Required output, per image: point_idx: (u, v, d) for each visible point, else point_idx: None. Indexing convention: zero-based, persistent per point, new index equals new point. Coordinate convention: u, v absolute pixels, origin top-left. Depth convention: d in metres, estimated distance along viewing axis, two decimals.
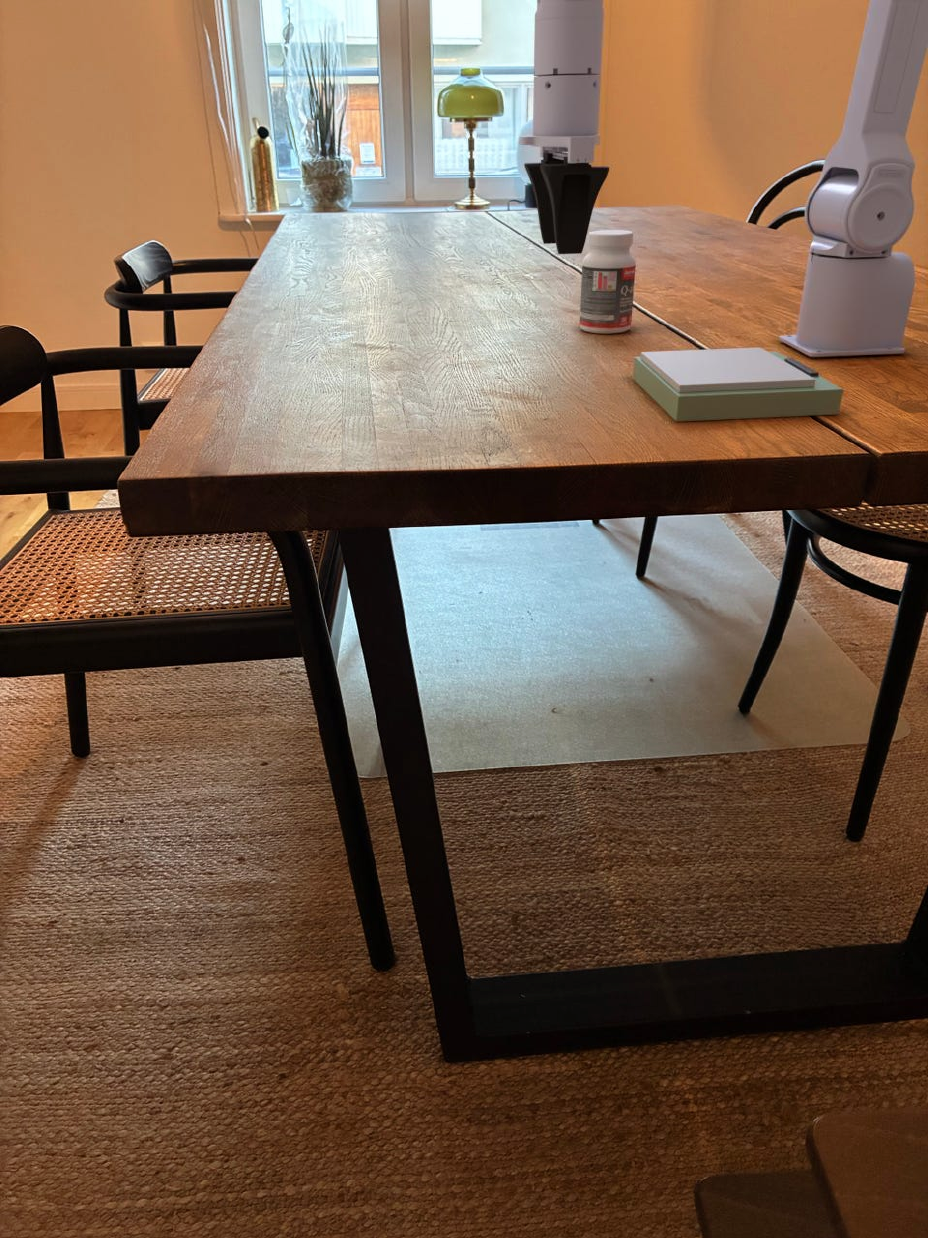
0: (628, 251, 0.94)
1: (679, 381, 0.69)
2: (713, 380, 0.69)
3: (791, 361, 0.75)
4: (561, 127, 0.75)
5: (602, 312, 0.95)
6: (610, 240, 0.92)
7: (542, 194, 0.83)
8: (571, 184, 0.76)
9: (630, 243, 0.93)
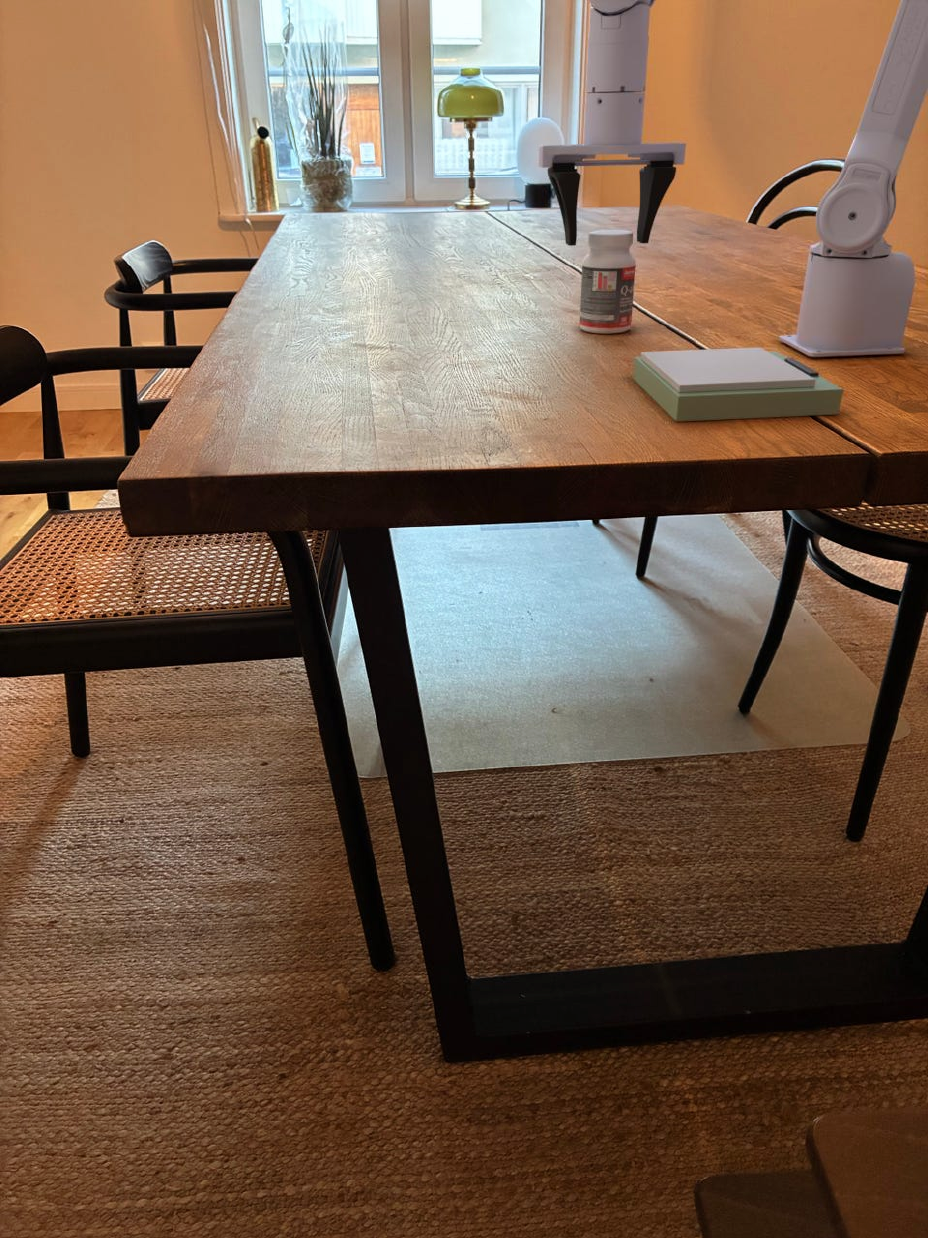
0: (628, 251, 0.94)
1: (679, 381, 0.69)
2: (713, 380, 0.69)
3: (791, 361, 0.75)
4: None
5: (602, 312, 0.95)
6: (610, 240, 0.92)
7: (641, 196, 0.93)
8: None
9: (630, 243, 0.93)
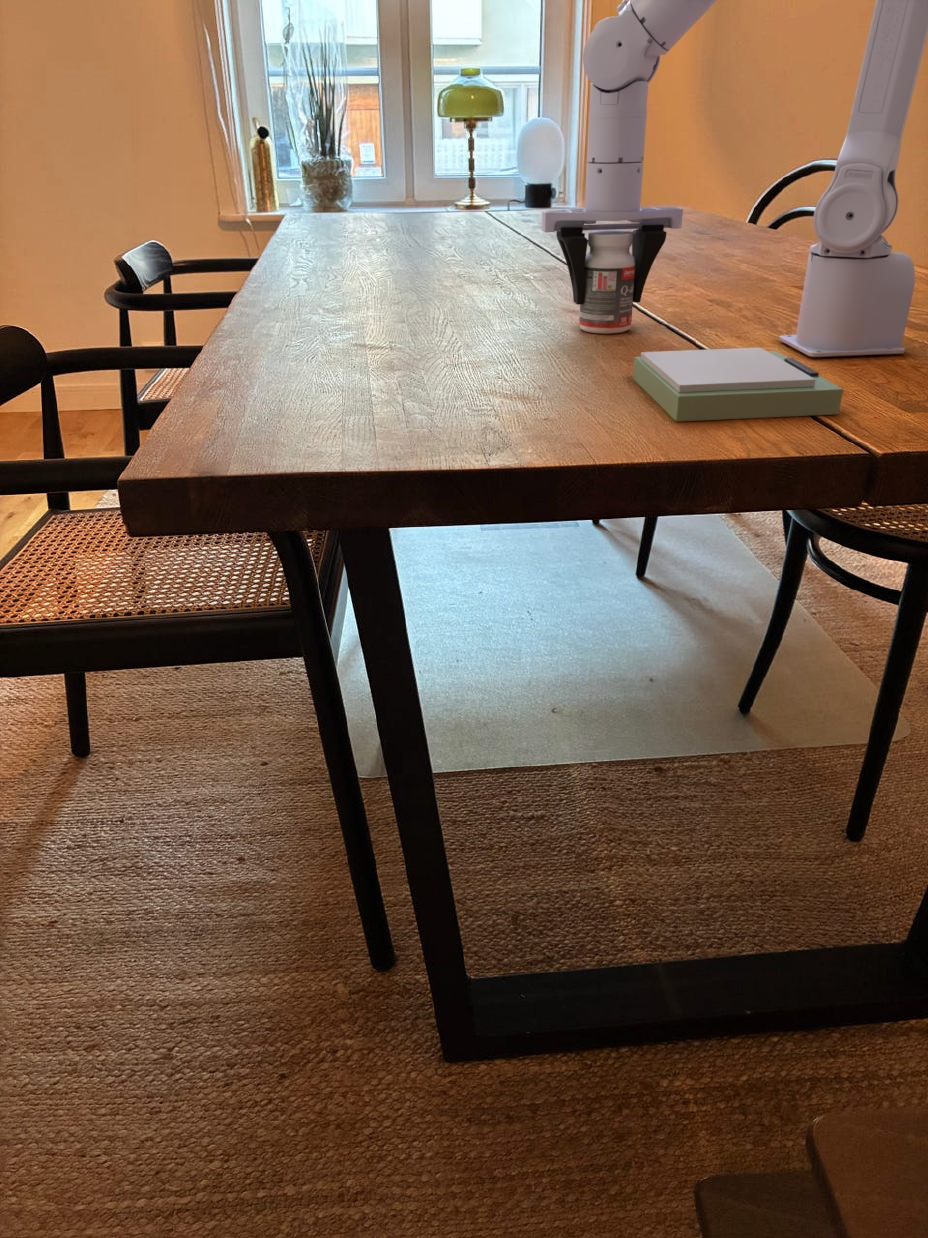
0: (628, 251, 0.94)
1: (679, 381, 0.69)
2: (713, 380, 0.69)
3: (791, 361, 0.75)
4: None
5: (602, 312, 0.95)
6: (610, 240, 0.92)
7: None
8: None
9: (630, 243, 0.93)
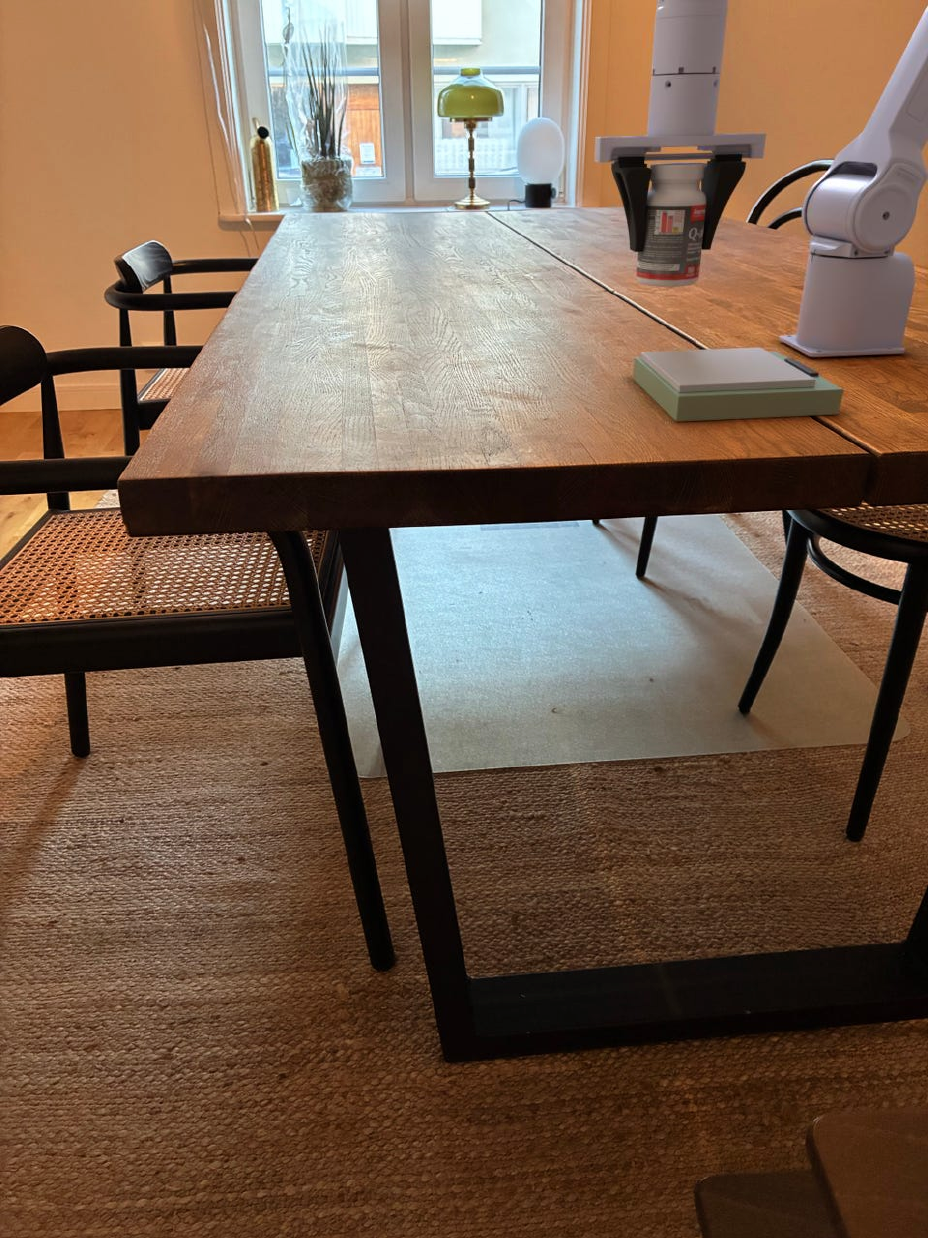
0: (698, 186, 0.78)
1: (679, 381, 0.69)
2: (713, 380, 0.69)
3: (791, 361, 0.75)
4: None
5: (665, 260, 0.79)
6: (678, 171, 0.76)
7: None
8: None
9: (701, 176, 0.77)
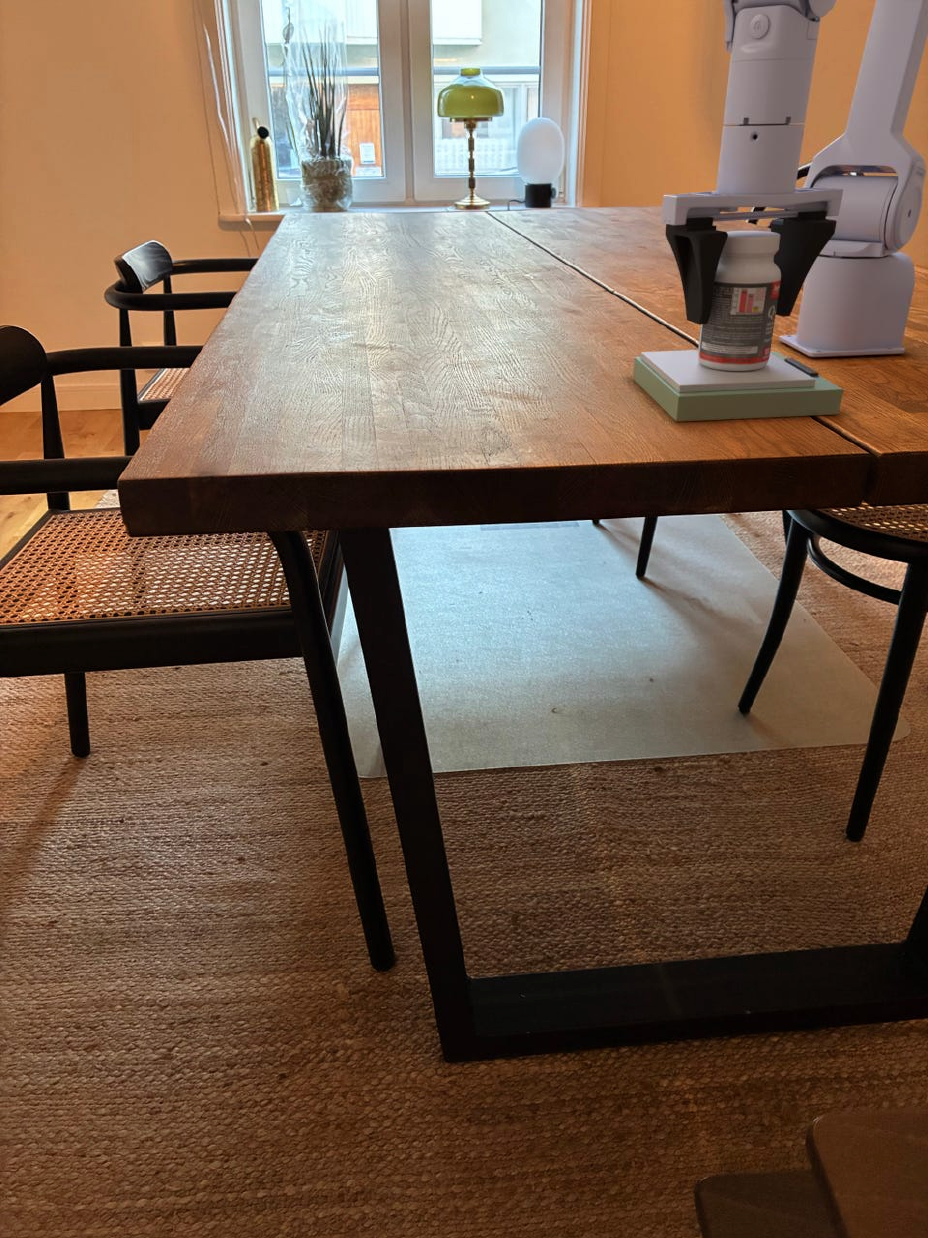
0: (773, 259, 0.69)
1: (679, 381, 0.69)
2: (713, 380, 0.69)
3: (791, 361, 0.75)
4: (718, 183, 0.67)
5: (743, 343, 0.70)
6: (759, 245, 0.67)
7: (776, 256, 0.72)
8: None
9: (778, 248, 0.68)
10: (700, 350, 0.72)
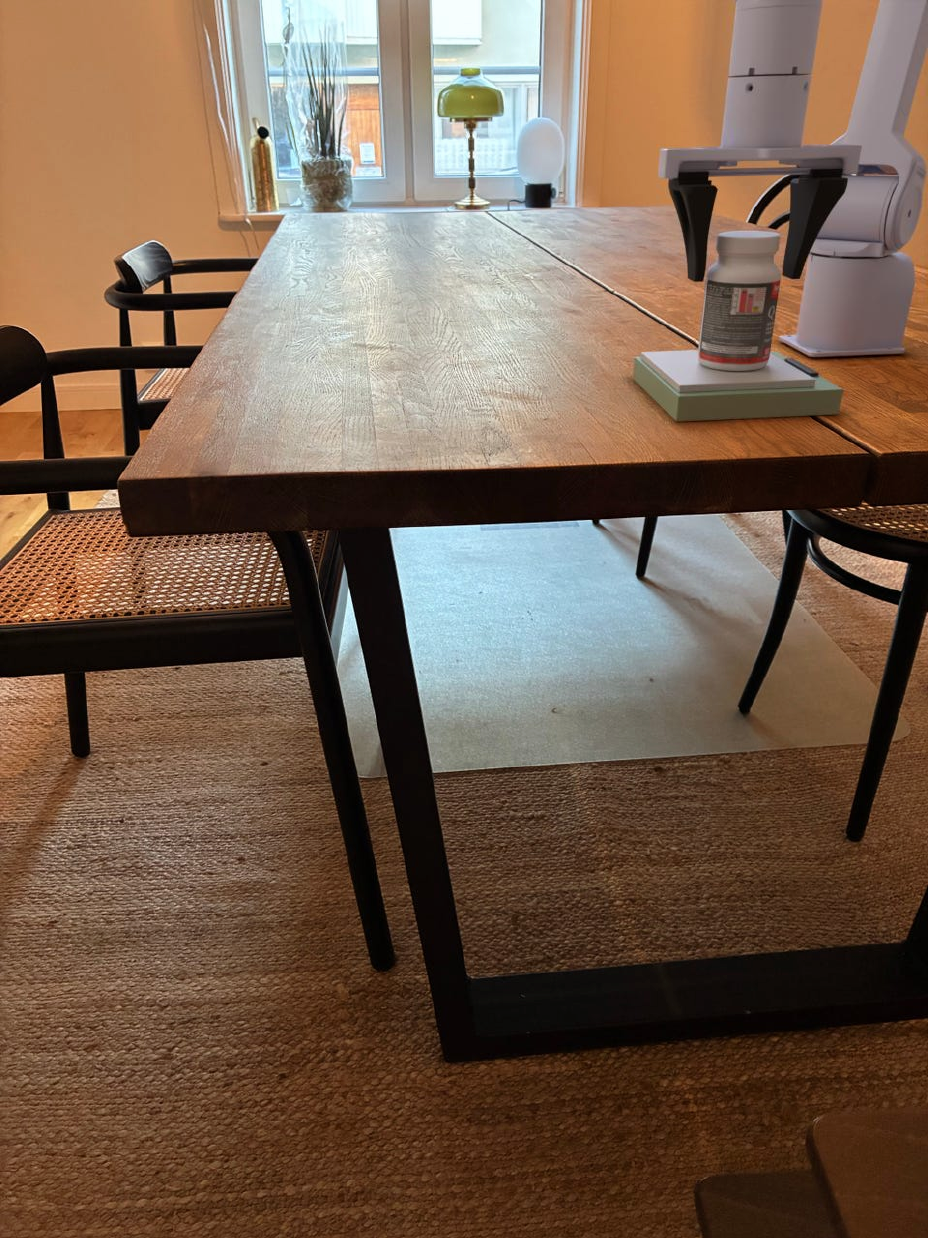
0: (773, 259, 0.69)
1: (679, 381, 0.69)
2: (713, 380, 0.69)
3: (791, 361, 0.75)
4: (802, 136, 0.65)
5: (743, 343, 0.70)
6: (759, 245, 0.67)
7: None
8: None
9: (778, 248, 0.68)
10: (700, 350, 0.72)
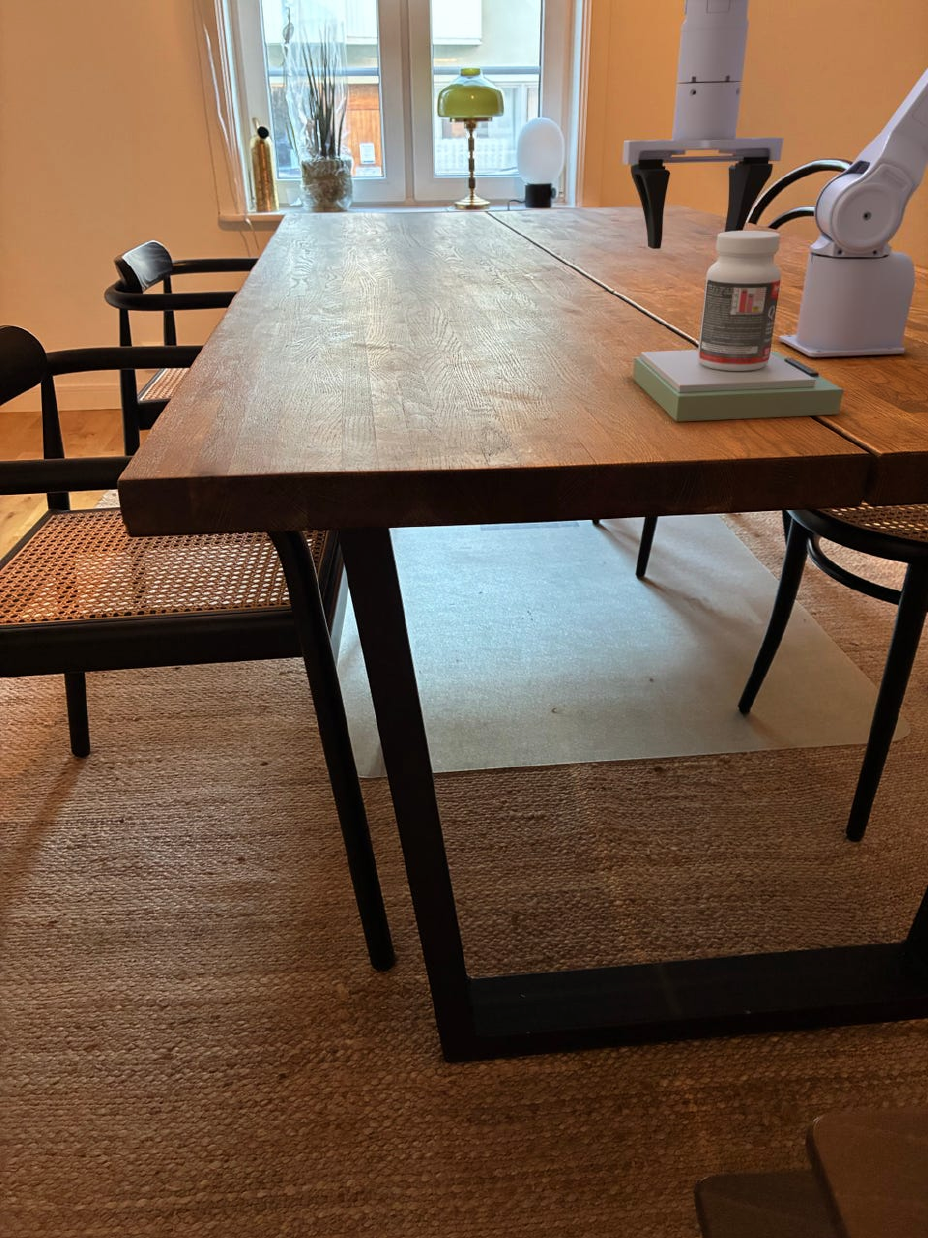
0: (773, 259, 0.69)
1: (679, 381, 0.69)
2: (713, 380, 0.69)
3: (791, 361, 0.75)
4: None
5: (743, 343, 0.70)
6: (759, 245, 0.67)
7: None
8: None
9: (778, 248, 0.68)
10: (700, 350, 0.72)
